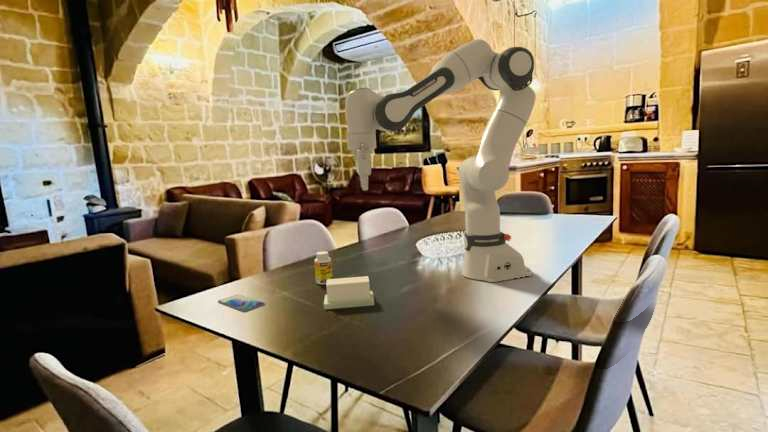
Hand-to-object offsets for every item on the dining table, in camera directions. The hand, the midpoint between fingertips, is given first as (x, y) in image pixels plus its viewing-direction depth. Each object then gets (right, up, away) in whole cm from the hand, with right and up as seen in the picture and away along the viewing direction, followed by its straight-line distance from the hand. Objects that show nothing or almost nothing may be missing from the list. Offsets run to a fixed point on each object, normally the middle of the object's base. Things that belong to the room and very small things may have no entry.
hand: (364, 188), depth 131 cm
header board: (-4, -33, -10) cm, 35 cm away
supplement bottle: (-14, -31, +10) cm, 35 cm away
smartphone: (-36, -35, -5) cm, 51 cm away
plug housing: (-4, -32, -10) cm, 33 cm away
